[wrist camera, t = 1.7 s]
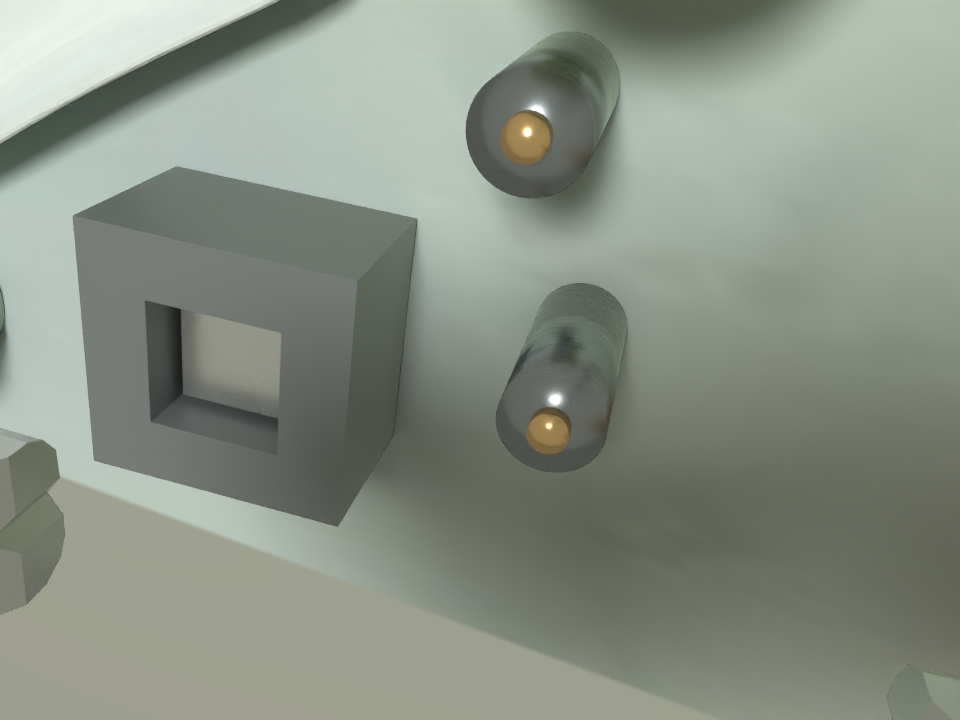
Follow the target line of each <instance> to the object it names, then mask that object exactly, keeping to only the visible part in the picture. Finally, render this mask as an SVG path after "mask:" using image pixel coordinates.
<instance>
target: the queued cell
mask: <svg viewBox="0 0 960 720" xmlns="http://www.w3.org/2000/svg"><path fill="white" fill-rule="evenodd" d="M626 334H627V319H626V315H625V312H624V310H623V308H622V306H621V305H620V303H619V302H618V301H617V299H616V298H615V297H614V296H613V295H611V294H610V293H609V292H607V291H606V290H604V289H602V288H600V287H598V286H595V285H591V284H585V283H575V284H569V285H565V286H563V287H560V288H558V289H556V290H555V291H553V292H552V293H551V294H550V295H549V296H548V297H547V298H546V299H545V300H544V302H543V303H542V305H541V307H540V310H539V312H538V314H537V317H536V319H535V321H534V324H533V326H532V328H531V331H530V333H529V335H528V338H527V340H526V342H525V345H524V347H523V349H522V352H521V354H520V356H519V358H518V361H517V363H516V365H515V368H514V370H513V372H512V375H511V377H510V379H509V382H508V384H507V386H506V389H505V391H504V393H503V396H502V398H501V400H500V403H499V405H498V408H497V413H496V426H497V431H498V433H499V436H500V438H501V440H502V442H503V444H504V445H505V447H506V448H507V449H508V451H509V452H510V453H511V454H512V455H513V456H514V457H515V458H517V459H518V460H519V461H521V462H522V463H524V464H526V465H528V466H530V467H532V468H535V469H538V470H541V471H546V472H567V471H572V470H576V469H578V468H581V467H583V466H584V465H586V464H588V463H589V462H591V461H592V460H593V459H594V458H595V457H596V456H597V455H598V453H599V452H600V451H601V449H602V447H603V445H604V442H605V439H606V435H607V430H608V425H609V420H610V415H611V410H612V405H613V400H614V395H615V390H616V385H617V380H618V374H619V369H620V364H621V359H622V354H623V349H624V344H625V339H626Z"/></svg>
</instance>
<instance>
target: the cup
mask: <svg viewBox="0 0 960 720" xmlns="http://www.w3.org/2000/svg"><path fill="white" fill-rule="evenodd" d="M3 323H4V304H3V299H2V294H1V291H0V333H1V331H2V327H3Z"/></svg>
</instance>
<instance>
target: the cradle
mask: <svg viewBox="0 0 960 720" xmlns="http://www.w3.org/2000/svg"><path fill="white" fill-rule="evenodd" d="M73 224H74V235H75V247H76V258H77V270H78V281H79V293H80V304H81V316H82V327H83V339H84V350H85V362H86V373H87V385H88V396H89V408H90V419H91V431H92V442H93V454H94V461H98V462H101V463H105V464H109V465H112V466H116V467H120V468H123V469H127V470H131V471H134V472H138V473H142V474H146V475H149V476H153V477H157V478H160V479H164V480H168V481H171V482H175V483H179V484H182V485H186V486H190V487H193V488H197V489H201V490H205V491H208V492H212V493H216V494H219V495H223V496H227V497H230V498H234V499H238V500H241V501H245V502H249V503H252V504H256V505H260V506H263V507H267V508H271V509H275V510H278V511H282V512H286V513H289V514H293V515H297V516H300V517H304V518H308V519H311V520H315V521H319V522H322V523H326V524H330V525H334V526H337V527H338V526H339V524H340V522H341V521H342V519H343V517H344V516H345V514H346V512H347V511H348V509H349V508H350V506H351V504H352V503H353V501H354V499H355V498H356V496H357V494H358V493H359V491H360V489H361V488H362V486H363V484H364V483H365V481H366V480H367V478H368V476H369V475H370V473H371V471H372V470H373V468H374V466H375V465H376V463H377V461H378V460H379V458H380V456H381V455H382V453H383V452H384V450H385V448H386V447H387V445H388V443H389V442H390V440H391V438H392V437H393V432H394V423H395V414H396V405H397V396H398V387H399V378H400V369H401V360H402V351H403V342H404V333H405V324H406V315H407V306H408V297H409V288H410V279H411V270H412V261H413V252H414V243H415V234H416V225H417V219H415V218H411V217H406V216H402V215H397V214H392V213H388V212H383V211H379V210H374V209H369V208H365V207H360V206H356V205H351V204H347V203H342V202H337V201H333V200H328V199H324V198H319V197H314V196H310V195H305V194H301V193H296V192H291V191H287V190H282V189H278V188H273V187H268V186H264V185H259V184H255V183H250V182H246V181H241V180H236V179H232V178H227V177H223V176H218V175H213V174H209V173H204V172H200V171H195V170H190V169H186V168H181V167H177V166H176V167H174V168H172V169H170V170H168V171H166V172H164V173H162V174H159V175H157V176H155V177H153V178H151V179H149V180H147V181H145V182H143V183H141V184H138V185H136V186H134V187H132V188H130V189H128V190H126V191H124V192H122V193H120V194H117V195H115V196H113V197H111V198H109V199H107V200H105V201H103V202H101V203H99V204H96V205H94V206H92V207H90V208H88V209H86V210H84V211H82V212H80V213H77V214H75V215H73ZM181 309H184V310H188V311H192V312H196V313H200V314H204V315H208V316H213V317H217V318H221V319H225V320H229V321H233V322H237V323H242V324H246V325H250V326H254V327H258V328H262V329H266V330H270V331H275V332H279V333H281V355H280V383H279V412H278V418H274V417H270V416H266V415H262V414H258V413H254V412H250V411H247V410H243V409H239V408H235V407H231V406H227V405H223V404H219V403H215V402H211V401H208V400H204V399H200V398H196V397H192V396H188V395H184V394H183V374H182V336H181Z"/></svg>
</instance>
